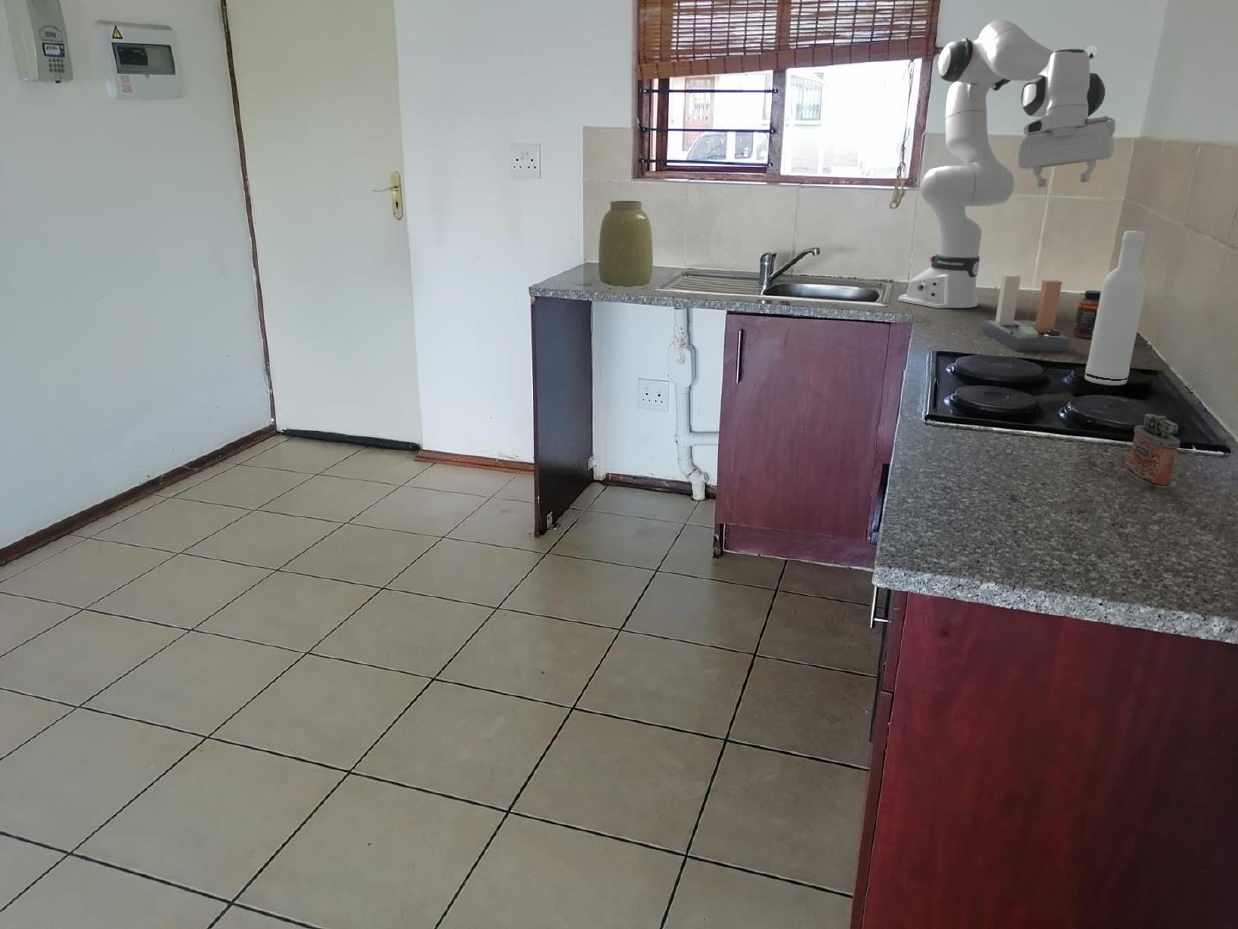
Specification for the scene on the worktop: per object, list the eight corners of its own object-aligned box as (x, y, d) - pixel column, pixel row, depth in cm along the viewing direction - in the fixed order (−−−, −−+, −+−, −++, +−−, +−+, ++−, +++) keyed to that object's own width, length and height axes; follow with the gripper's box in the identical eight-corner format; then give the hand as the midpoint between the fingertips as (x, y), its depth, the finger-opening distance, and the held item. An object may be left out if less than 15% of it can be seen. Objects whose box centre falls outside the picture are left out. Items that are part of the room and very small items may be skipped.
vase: (593, 285, 297) (593, 200, 288) (644, 283, 301) (645, 199, 292) (605, 294, 281) (605, 204, 272) (658, 292, 285) (660, 203, 276)
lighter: (1119, 472, 137) (1132, 409, 133) (1140, 471, 137) (1154, 408, 134) (1152, 492, 129) (1167, 425, 126) (1175, 491, 130) (1190, 425, 126)
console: (981, 332, 231) (984, 314, 230) (1028, 332, 232) (1031, 315, 230) (1016, 351, 212) (1019, 332, 210) (1067, 351, 212) (1070, 332, 210)
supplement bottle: (1102, 339, 224) (1111, 293, 220) (1076, 338, 225) (1084, 292, 221) (1095, 334, 229) (1104, 289, 225) (1070, 333, 230) (1078, 288, 226)
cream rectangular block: (995, 323, 226) (1002, 274, 222) (1009, 323, 226) (1016, 274, 222) (998, 324, 224) (1006, 276, 220) (1013, 325, 224) (1020, 276, 220)
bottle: (1123, 377, 189) (1154, 230, 179) (1130, 387, 182) (1162, 234, 172) (1081, 374, 192) (1109, 228, 181) (1086, 383, 185) (1115, 232, 174)
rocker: (1018, 330, 214) (1019, 326, 214) (1030, 330, 214) (1032, 326, 214) (1024, 337, 211) (1025, 333, 210) (1037, 337, 211) (1038, 333, 210)
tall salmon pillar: (1034, 330, 218) (1042, 280, 214) (1048, 330, 218) (1057, 280, 214) (1038, 332, 216) (1047, 281, 212) (1053, 332, 216) (1061, 281, 212)
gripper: (1119, 116, 205) (1116, 179, 207) (1026, 131, 219) (1023, 190, 221) (1111, 112, 200) (1108, 177, 202) (1016, 127, 214) (1014, 188, 216)
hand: (1063, 184), depth 212 cm, fingers open, 8 cm apart
